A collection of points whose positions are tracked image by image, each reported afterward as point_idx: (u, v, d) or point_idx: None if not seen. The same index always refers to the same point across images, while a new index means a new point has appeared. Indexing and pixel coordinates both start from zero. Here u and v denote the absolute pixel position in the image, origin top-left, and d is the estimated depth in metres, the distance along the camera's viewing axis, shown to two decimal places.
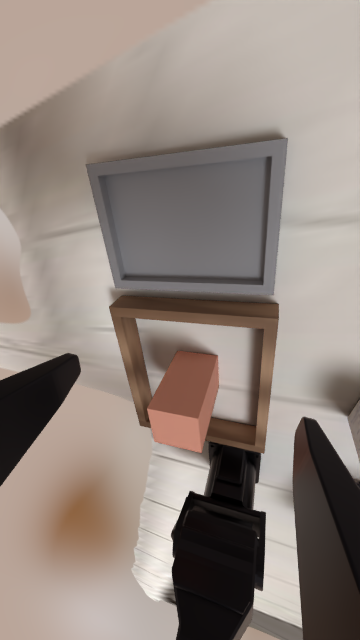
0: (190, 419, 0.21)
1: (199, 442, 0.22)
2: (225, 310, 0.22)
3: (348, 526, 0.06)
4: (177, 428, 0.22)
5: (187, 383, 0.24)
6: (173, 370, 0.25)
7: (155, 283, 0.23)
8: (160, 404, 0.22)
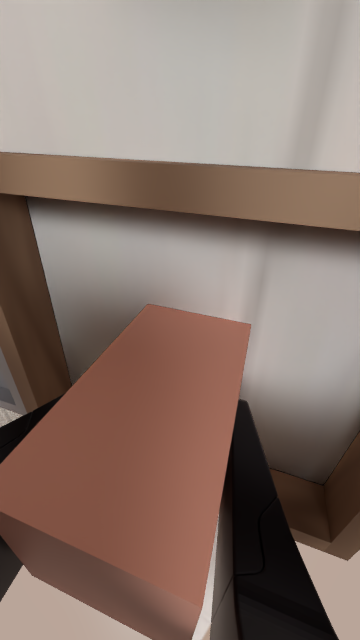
0: None
1: (115, 567, 0.04)
2: None
3: (242, 489, 0.06)
4: (72, 573, 0.05)
5: None
6: None
7: (1, 366, 0.15)
8: None
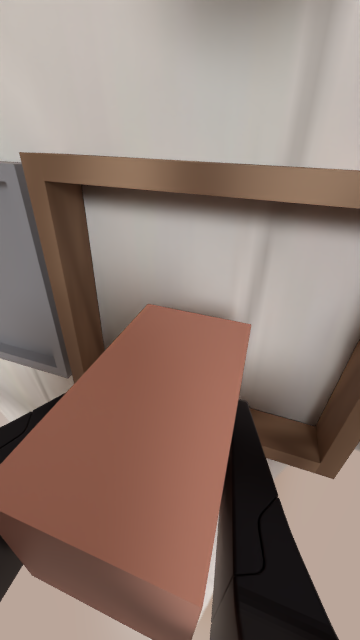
0: None
1: (115, 567, 0.04)
2: None
3: (242, 488, 0.06)
4: (72, 573, 0.05)
5: None
6: None
7: (49, 331, 0.18)
8: None
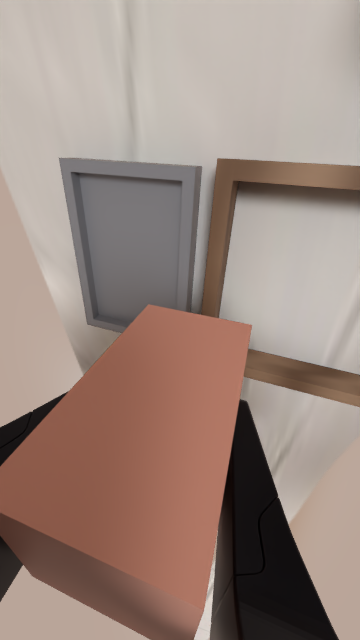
0: None
1: (116, 568, 0.04)
2: None
3: (242, 489, 0.06)
4: (73, 575, 0.05)
5: None
6: None
7: (179, 306, 0.21)
8: None
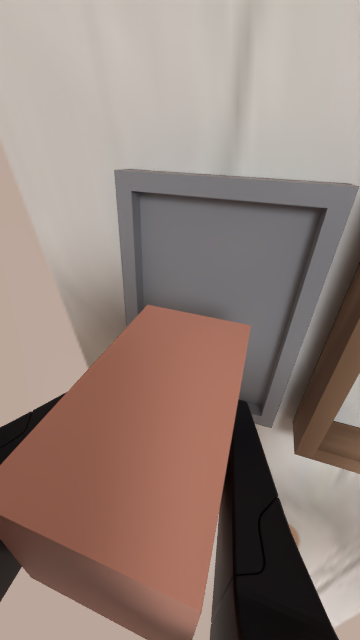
0: None
1: (114, 570, 0.04)
2: None
3: (242, 488, 0.06)
4: (71, 576, 0.05)
5: None
6: None
7: (277, 378, 0.15)
8: None
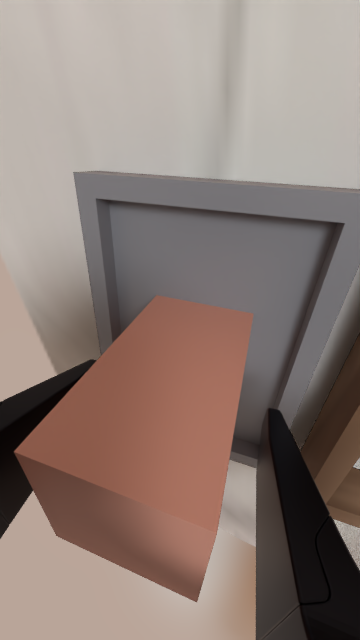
0: (31, 471, 0.06)
1: (142, 504, 0.05)
2: None
3: (292, 506, 0.06)
4: (99, 523, 0.06)
5: None
6: None
7: None
8: None
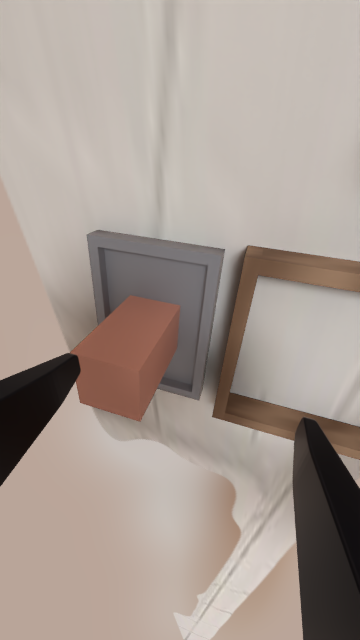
0: None
1: (116, 366, 0.15)
2: None
3: (348, 526, 0.06)
4: (100, 383, 0.16)
5: None
6: None
7: (197, 365, 0.23)
8: None
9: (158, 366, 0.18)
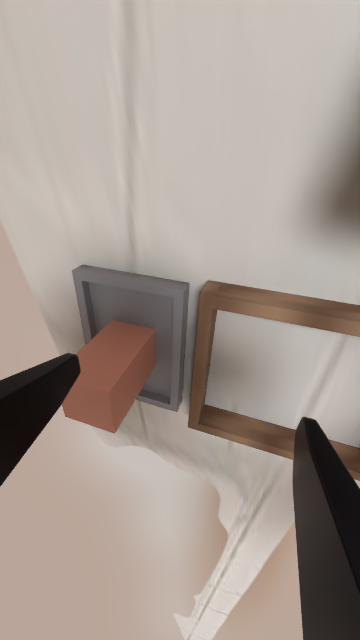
0: None
1: (90, 387, 0.18)
2: None
3: (348, 526, 0.06)
4: (79, 401, 0.19)
5: None
6: None
7: (172, 381, 0.25)
8: None
9: (132, 384, 0.21)
